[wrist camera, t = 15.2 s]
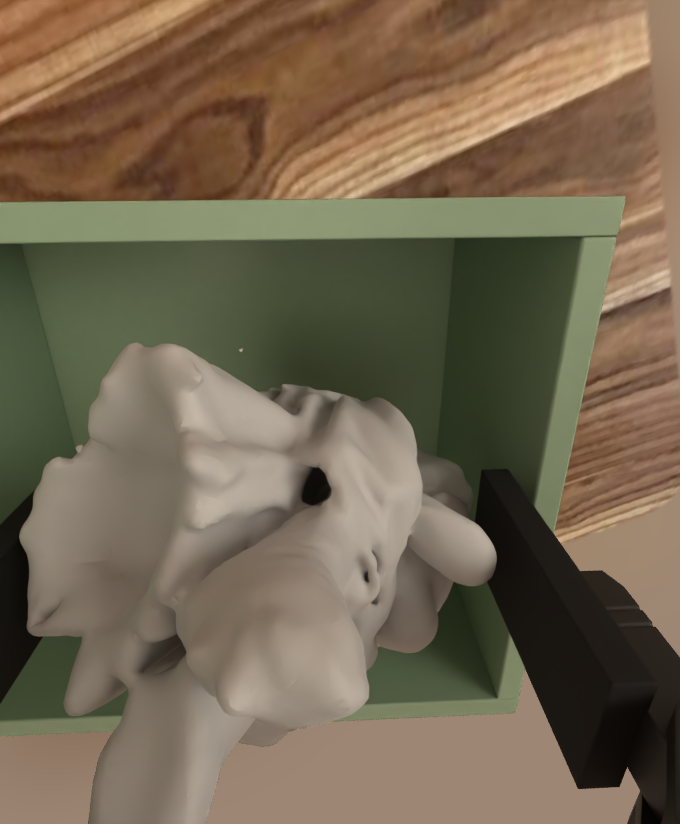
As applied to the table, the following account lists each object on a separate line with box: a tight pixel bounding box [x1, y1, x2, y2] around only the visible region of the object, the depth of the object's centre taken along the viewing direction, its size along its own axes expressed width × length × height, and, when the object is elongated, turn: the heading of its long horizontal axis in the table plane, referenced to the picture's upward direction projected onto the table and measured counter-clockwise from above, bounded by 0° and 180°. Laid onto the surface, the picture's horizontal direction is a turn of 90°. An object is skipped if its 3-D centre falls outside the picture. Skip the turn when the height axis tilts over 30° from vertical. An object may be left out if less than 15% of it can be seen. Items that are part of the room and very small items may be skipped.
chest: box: [0, 196, 626, 737], centre depth 18 cm, size 20×17×11 cm
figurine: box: [19, 343, 497, 824], centre depth 12 cm, size 8×10×12 cm
